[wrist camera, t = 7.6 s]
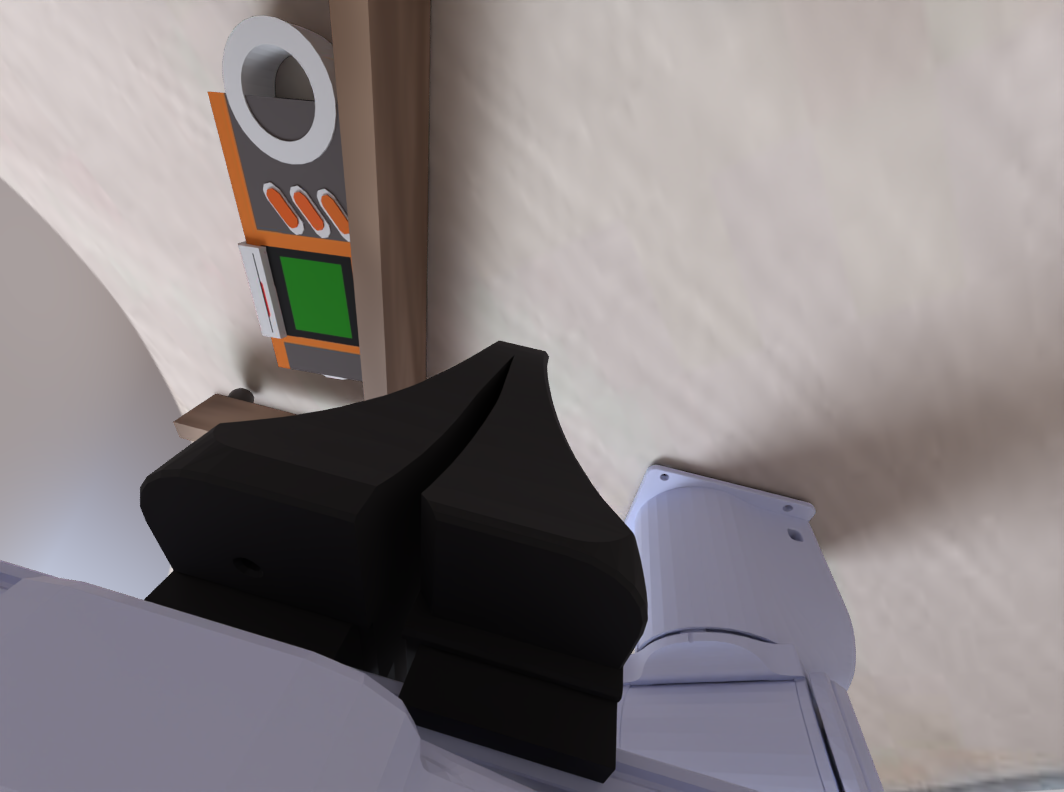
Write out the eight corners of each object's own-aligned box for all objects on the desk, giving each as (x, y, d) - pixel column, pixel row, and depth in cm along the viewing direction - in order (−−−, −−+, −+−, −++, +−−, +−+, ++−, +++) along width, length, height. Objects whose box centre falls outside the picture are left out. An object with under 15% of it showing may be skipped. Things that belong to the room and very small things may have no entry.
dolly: (431, -39, 15) (362, -93, 11) (424, 446, 27) (392, 497, 24) (90, -96, 16) (-78, -162, 12) (237, 398, 28) (178, 440, 25)
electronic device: (339, 17, 14) (384, 395, 22) (382, 37, 17) (409, 369, 25) (167, 7, 15) (268, 374, 23) (232, 27, 18) (303, 352, 26)
